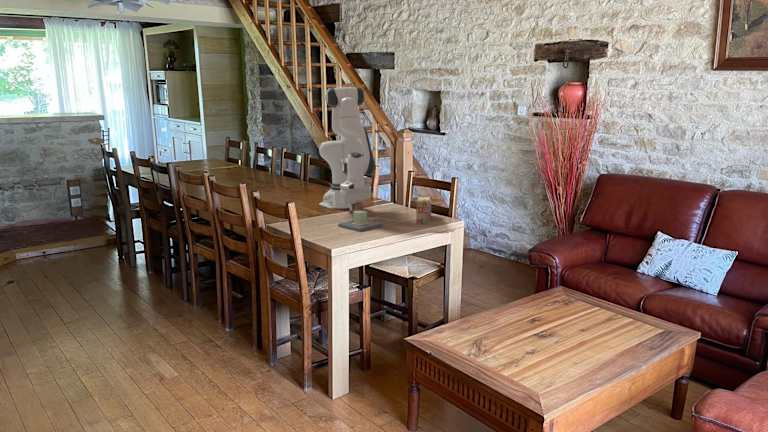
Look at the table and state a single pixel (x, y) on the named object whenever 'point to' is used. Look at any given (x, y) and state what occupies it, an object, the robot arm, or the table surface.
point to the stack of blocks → (423, 210)
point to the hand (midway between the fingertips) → (356, 209)
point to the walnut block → (356, 207)
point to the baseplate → (360, 227)
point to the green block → (360, 217)
